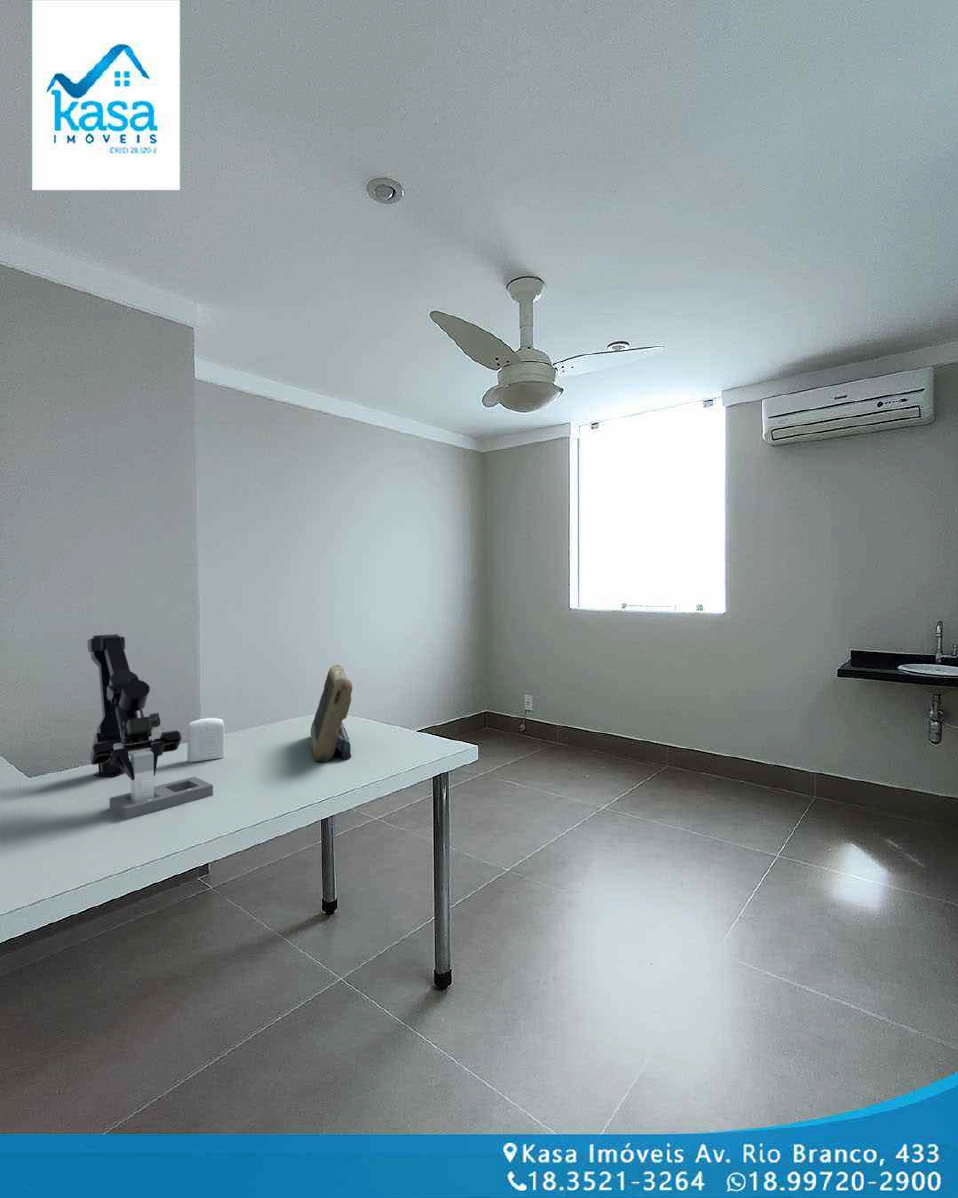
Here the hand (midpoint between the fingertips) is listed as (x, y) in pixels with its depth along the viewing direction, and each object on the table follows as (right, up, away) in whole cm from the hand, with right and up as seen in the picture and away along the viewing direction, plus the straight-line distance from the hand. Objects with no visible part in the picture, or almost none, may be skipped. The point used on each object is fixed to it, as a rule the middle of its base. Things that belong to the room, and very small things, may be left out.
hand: (143, 777), depth 139 cm
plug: (-1, -7, +1) cm, 7 cm away
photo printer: (-3, -6, +39) cm, 39 cm away
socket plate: (+2, -7, +5) cm, 9 cm away
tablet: (+31, -6, +52) cm, 61 cm away
